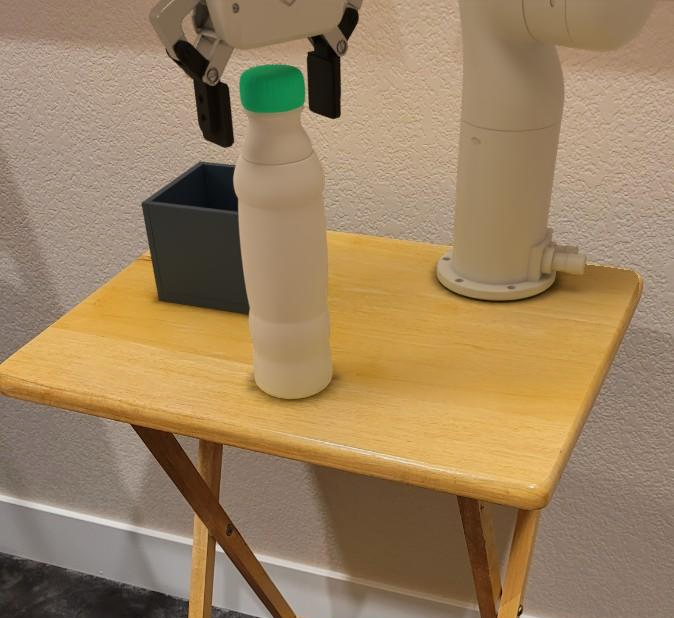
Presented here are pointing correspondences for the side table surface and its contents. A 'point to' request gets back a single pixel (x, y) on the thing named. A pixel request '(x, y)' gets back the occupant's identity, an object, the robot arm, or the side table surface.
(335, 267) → the side table surface
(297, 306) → the water bottle
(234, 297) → the bin
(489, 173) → the robot arm
